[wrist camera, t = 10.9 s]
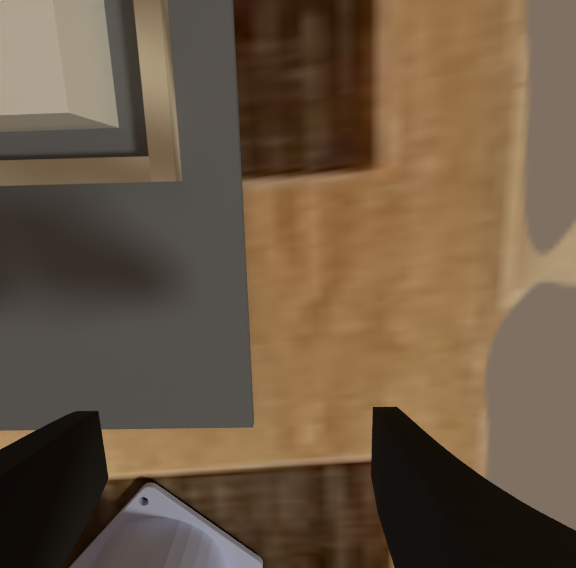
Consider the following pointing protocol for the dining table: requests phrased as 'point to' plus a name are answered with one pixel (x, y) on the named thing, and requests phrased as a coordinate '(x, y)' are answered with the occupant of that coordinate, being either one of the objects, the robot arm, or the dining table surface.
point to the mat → (133, 254)
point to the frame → (158, 121)
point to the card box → (55, 66)
